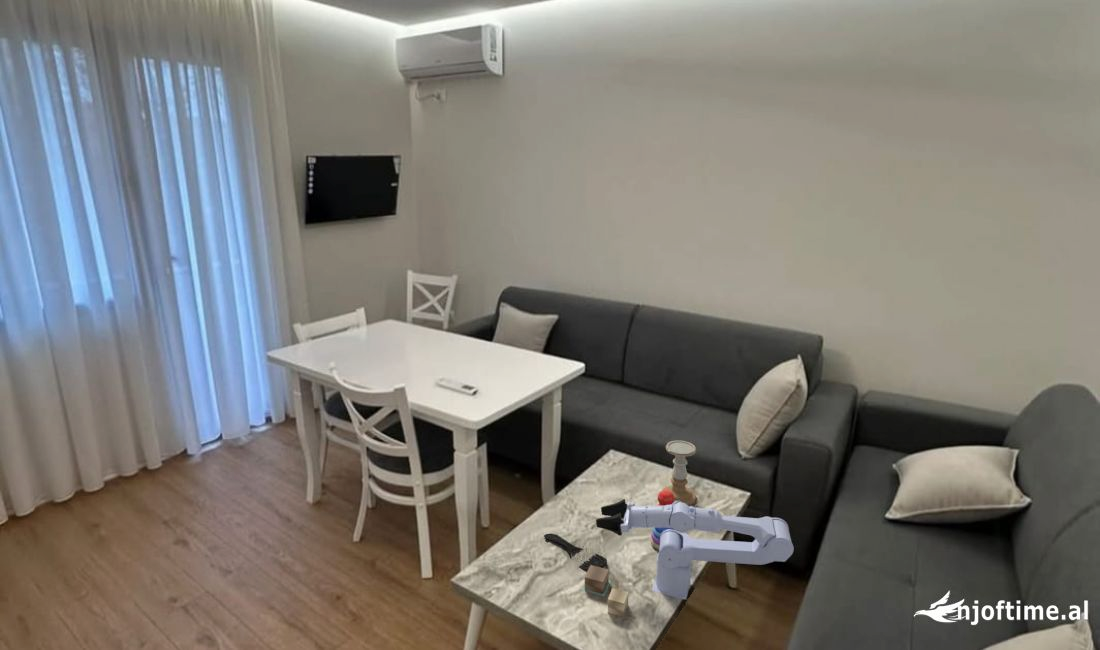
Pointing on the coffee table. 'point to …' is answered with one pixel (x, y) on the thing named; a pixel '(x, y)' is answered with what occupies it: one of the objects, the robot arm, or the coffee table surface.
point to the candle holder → (680, 471)
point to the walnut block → (596, 579)
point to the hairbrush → (572, 549)
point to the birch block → (618, 602)
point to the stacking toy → (664, 499)
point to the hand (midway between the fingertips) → (599, 516)
